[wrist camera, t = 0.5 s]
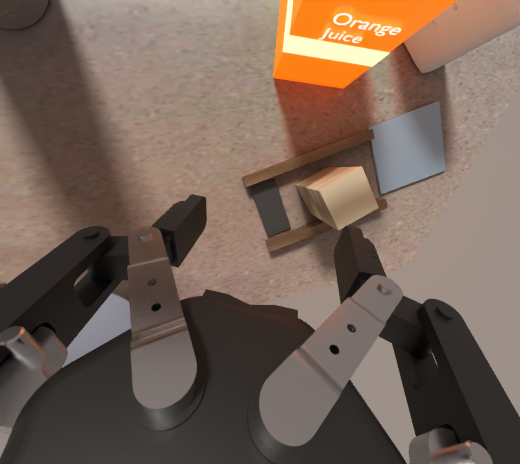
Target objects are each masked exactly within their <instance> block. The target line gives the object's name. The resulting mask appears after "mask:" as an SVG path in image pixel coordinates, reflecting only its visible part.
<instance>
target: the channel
mask: <svg viewBox="0 0 520 464" xmlns="http://www.w3.org/2000/svg"><path fill="white" fill-rule="evenodd" d="M372 139H375V138H374V132H373V129H370V130H367V131H364V132H361V133H358V134H356V135H353V136H350V137H348V138H345V139H342V140H340V141H337V142H335V143H332V144H329V145H327V146H324V147H321V148H319V149H316V150H313V151H311V152H308V153H305V154H303V155H300V156H297V157H295V158H292V159H289V160H287V161H284V162H281V163H279V164H276V165H273V166H271V167H268V168H266V169H263V170H260V171H258V172H255V173H252V174H250V175H247V176H244V177H242V179H243V182H244V184H245V187H247V186H250V185H253V184H255V183H258V182H261V181H263V180H266V179H269V178H271V177H274V176H277V175H279V174H282V173H285V172H287V171H290V170H293V169H295V168H298V167H301V166H303V165H306V164H309V163H311V162H314V161H317V160H319V159H322V158H325V157H327V156H330V155H333V154H335V153H338V152H340V151H343V150H346V149H348V148H351V147H354V146H356V145H359V144H362V143H364V142H367V141H370V140H372ZM375 200H376V202H377V205H378V207H379V208H377V209H376V210H374V211H372V212H370V213H369V214H367V215H370V214H372V213H375V212H378V211H380V210H383V209H386V208H387V202H386V199H381V198H377V199H375ZM367 215H365V216H367ZM363 217H364V216H363ZM361 218H362V217H361ZM332 228H334V227H332V226H330V225H329V224H327V223H325V222H324V221H322V220H319V221H316V222H313V223H311V224H308V225H305V226H303V227H300V228H297V229H295V230H292V231H289V232H287V233H284V234H281V235H279V236H276V237H273V238H271V239H268V240H266V243H267V246H268V248H269V251H270V252H271V251H273V250H276V249H279V248H281V247H284V246H287V245H290V244H292V243H295V242H298V241H300V240H303V239H306V238H308V237H311V236H314V235H316V234H319V233H322V232H324V231H327V230H330V229H332Z"/></svg>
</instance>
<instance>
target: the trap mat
mask: <svg viewBox="0 0 520 464" xmlns="http://www.w3.org/2000/svg"><path fill="white" fill-rule="evenodd" d="M250 189H251V192H252V195H253V198H254V200H255V203H256V206H257V208H258V211H259V214H260V217H261V219H262V222H263V225H264V227H265V230H266V233H267V236H271V235H274V234H276V233H279V232H282V231H284V230H287V229H290V228H291V227H290V224H289V221H288V218H287V215H286V212H285V209H284V206H283V203H282V200H281V197H280V194H279V191H278V188H277V185H276V182H275V179H274V180H272V181H269V182H266V183H264V184H261V185H258V186H256V187H253V188H250Z"/></svg>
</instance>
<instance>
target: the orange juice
mask: <svg viewBox="0 0 520 464" xmlns="http://www.w3.org/2000/svg"><path fill="white" fill-rule="evenodd" d="M455 1H457V0H281V1H280V12H279V22H278V32H277V43H276V53H275V63H274V73H273V78H278V79H284V80H291V81H298V82H304V83H311V84H317V85H324V86H331V87H337V88H344V87H346V86H347V85H348V84H349V83H351V82H352V81H353V80H355V79H356V78H357V77H359V76H360V75H361V74H362V73H364V72H365V71H366V70H368V69H369V68H370V67H372V66H374V65H375V64H376V63H378V62H379V61H380V60H382V59H383V58H384V57H385V56H387V55H388V54H389V53H390V52H391V51H392V50H393V49H395V48H396V47H397V46H399V45H400V44H401V43H402V42H404V41H405V40H406V39H408V38H409V37H410V36H411V35H413V34H414V33H415V32H417V31H418V30H419V29H420V28H422V27H423V26H424V25H426V24H427V23H428V22H429V21H431V20H432V19H433V18H435V17H436V16H437V15H438V14H440V13H441V12H442V11H444V10H445V9H446V8H448V7H449V6H450V5H453V4H454V2H455Z"/></svg>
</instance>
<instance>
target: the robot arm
mask: <svg viewBox="0 0 520 464" xmlns="http://www.w3.org/2000/svg"><path fill="white" fill-rule="evenodd" d="M48 1H49V0H0V27H1V28H6V29H21V28H25V27H28V26H30V25H32V24H34V23H35V22H37V21H38V20H39V19H40V17H41V16H42V15H43V13H44V12H45V10H46V8H47V5H48ZM206 221H207V216H206V198H205V197H203V196H198V195H193V194H192V195H190V196H189V197H188V198H187V200H186V201H180V202H178V203H176V204H174V205H173V206H172V207H171V208H170V209H169V210H167V211H166V212H165V214H163V215H162V216H161V217H160V218H159V219H158V220H157V221H156V222H155V223H154V224H153V225H152V226H151V227H142V228H138V229H136V230H134V231H132V232H131V233H130V234H129V235H128V236H111V234H110V231H109V230H108V229H107V228H105V227H101V226H93V227H88V228H85V229H82V230H80V231H78V232H76V233H75V234H74V235H72V236H71V237H70V238H68V239H67V240H66V241H64V242H63V243H62V244H60V245H59V246H58V247H56V248H55V249H54V250H52V251H51V252H50V253H48V254H47V255H46V256H44V257H43V258H42V259H40V260H39V261H38V262H36V263H35V264H33V265H32V266H31V267H29V268H28V269H27V270H25V271H24V272H23V273H21V274H20V275H19V276H17V277H16V278H15V279H13V280H12V281H11V282H9V283H8V284H7V285H5V286H4V287H3V288H1V289H0V432H1V433H7V434H10V436H9V439H8V442H7V444H6V447H5V449H4V451H3V453H2V456H1V458H0V464H407V463H406V462H405V460H404V458H403V457H402V455H401V454H400V452H399V450H398V449H397V447H396V446H395V445H394V443H393V442H392V440H391V439H390V437H389V436H388V434H387V433H386V431H385V430H384V429H383V427H382V426H381V424H380V423H379V421H378V420H377V418H376V417H375V415H374V414H373V413H372V411H371V410H370V408H369V407H368V406H367V404H366V402H365V401H364V399H363V398H362V396H361V395H360V394H359V392H358V391H357V389H356V388H355V386H354V385H353V383H352V382H351V380H350V378H351V376H352V375H353V373H354V372H355V370H356V369H357V367H358V366H359V364H360V363H361V361H362V360H363V358H364V357H365V355H366V354H367V352H368V351H369V349H370V348H371V346H372V345H373V343H374V341H375V340H376V339H377V337H378V336H379V337H381V338H383V339H385V340H387V341H389V342H391V343H392V345H393V349H394V353H395V356H396V360H397V364H398V368H399V372H400V376H401V380H402V384H403V388H404V392H405V395H406V399H407V403H408V407H409V411H410V415H411V419H412V423H413V427H414V430H415V435H416V437H415V438H413V439H412V441H411V443H410V445H409V458H410V463H409V464H520V417H519V415H518V414H517V412H516V410H515V408H514V407H513V405H512V403H511V401H510V400H509V398H508V396H507V395H506V393H505V391H504V389H503V387H502V386H501V384H500V382H499V381H498V379H497V377H496V375H495V374H494V372H493V370H492V368H491V367H490V365H489V363H488V361H487V360H486V358H485V357H484V355H483V353H482V351H481V349H480V348H479V346H478V344H477V342H476V341H475V339H474V337H473V336H472V334H471V332H470V330H469V329H468V327H467V325H466V323H465V322H464V320H463V318H462V317H461V315H460V314H459V313H458V312H457V311H456V310H455V309H454V308H453V307H451V306H450V305H448V304H446V303H445V302H442V301H440V300H437V299H428V300H426V301H425V302H424V303H423V304H420V303H418V302H416V301H414V300H412V299H409V298H407V297H405V296H403V293H402V290H401V289H400V287H399V286H398V285H397V284H396V283H395V282H394V281H392V280H391V279H389V278H387V277H386V274H385V272H384V269H383V267H382V264H381V262H380V259H379V257H378V254H377V251H376V249H375V246H374V245H373V244H372V243H371V242H370V240H369V239H366V238H364V237H363V234H362V231H361V229H360V228H357V227H352V226H345V227H344V229H343V231H342V233H341V236H340V238H339V240H338V242H337V245H336V247H335V251H334V261H335V268H336V275H337V282H338V288H339V295H340V302H341V305H340V306H339V307H338V308H337V309H336V310H335V311H334V312H333V313H332V315H331V316H330V317H329V318H328V319H327V320H326V321H325V322H324V323H323V324H322V325H321V326H320V327H319V328H318V329H317V330H316V331H315V330H314V329H313V328H312V327H311V326H310V325H308V324H307V323H306V322H304V321H302V320H301V319H299V318H298V311H297V310H294V309H290V308H285V307H281V306H277V305H249V304H247V303H245V302H243V301H241V300H239V299H237V298H235V297H232V296H230V295H228V294H224V293H220V292H216V291H211V290H207V289H206V290H205V292H204V294H203V296H197V297H191V298H187V299H184V300H181V301H180V300H179V296H178V292H177V288H176V284H175V280H174V277H173V273H172V269H171V266H175V267H179V266H180V265H181V263H182V262H183V260H184V259H185V257H186V256H187V254H188V253H189V251H190V250H191V248H192V247H193V245H194V244H195V242H196V241H197V239H198V238H199V236H200V235H201V233H202V232H203V230H204V229H205V226H206ZM86 269H87V271H88V273H87V274H86V275H85V276H84V277H83V278H82V279H81V280H80V281H79V282H78V283H77V284H76V285H75V286H74V284H75V281H76V280H77V278H78V277H79V276H80V275H81V274H82V273H83V272H84V271H85V270H86ZM122 280H128V286H129V301H130V315H131V329H129V330H128V331H126V332H124V333H122V334H120V335H119V336H117V337H115V338H114V339H112V340H110V341H108V342H106V343H105V344H103V345H101V346H100V347H98V348H96V349H94V350H93V351H91V352H89V353H87V354H86V355H84V356H82V357H80V358H79V359H77V360H75V361H73V362H72V363H70V364H68V365H66V366H65V367H63V368H62V366H63V364H64V363H65V361H66V358H67V354H68V353H67V347H68V346H69V344H70V343H71V342H72V341H73V340H74V338H75V337H76V336H77V335H78V333H79V332H80V331H81V330H82V329H83V327H84V326H85V325H86V324H87V322H88V321H89V320H90V319H91V318H92V316H93V315H94V314H95V313H96V311H97V310H98V309H99V308H100V306H101V305H102V304H103V303H104V301H105V300H106V299H107V298H108V297H109V295H110V294H111V293H112V292H113V290H114V289H115V288H116V287H117V286H118V284H119V283H120V282H121V281H122ZM432 353H433V354H434V357H435V359H436V362H437V365H436V362H435V360H434V357H433V355H432ZM437 366H438V367H437Z"/></svg>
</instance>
